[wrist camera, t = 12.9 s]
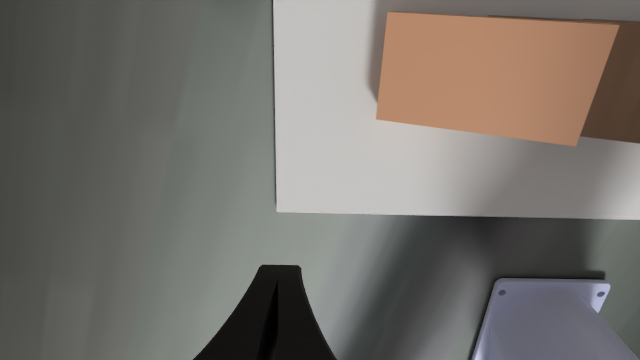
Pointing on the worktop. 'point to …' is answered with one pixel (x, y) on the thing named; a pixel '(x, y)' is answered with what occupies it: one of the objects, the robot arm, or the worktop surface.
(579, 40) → the tan wooden flat block
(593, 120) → the walnut domino
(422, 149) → the grey mat
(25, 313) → the worktop surface
